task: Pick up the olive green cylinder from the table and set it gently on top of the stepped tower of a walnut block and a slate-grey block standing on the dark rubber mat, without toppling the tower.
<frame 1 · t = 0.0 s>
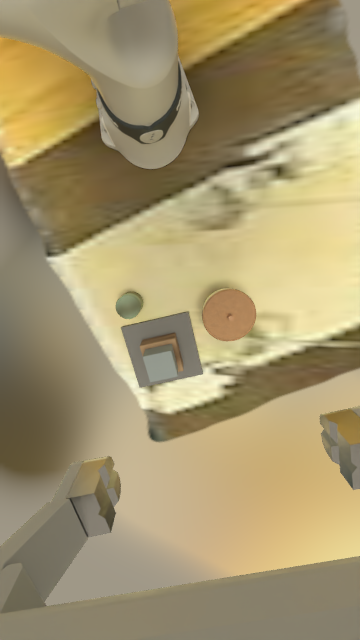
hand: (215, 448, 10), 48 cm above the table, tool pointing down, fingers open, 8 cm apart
lidded jar: (222, 307, 57), on the table
mat: (163, 350, 60), on the table
olive green cylinder: (132, 302, 57), on the table
tower top: (161, 358, 55), point 5 cm above the table, touching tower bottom
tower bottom: (163, 351, 59), point 1 cm above the table, touching mat, tower top
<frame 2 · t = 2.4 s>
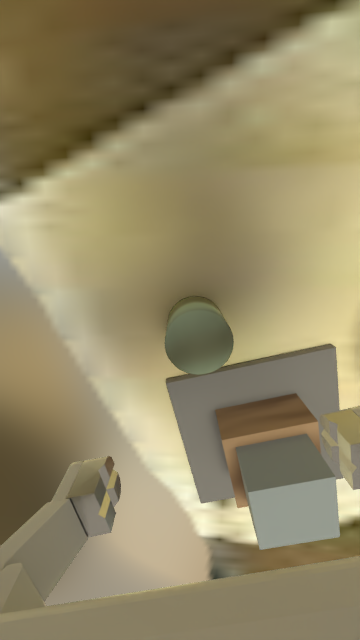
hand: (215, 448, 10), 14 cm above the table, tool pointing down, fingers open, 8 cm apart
mat: (258, 428, 26), on the table
olive green cylinder: (195, 322, 23), on the table
tower top: (275, 467, 22), point 5 cm above the table, touching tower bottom
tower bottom: (260, 434, 26), point 1 cm above the table, touching mat, tower top
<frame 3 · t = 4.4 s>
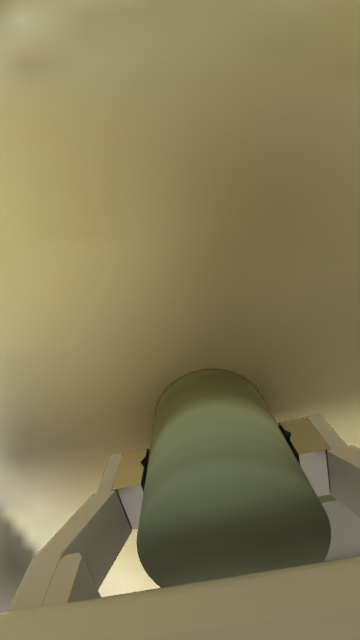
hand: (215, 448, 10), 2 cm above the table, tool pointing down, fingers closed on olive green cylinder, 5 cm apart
mat: (323, 592, 14), on the table
olive green cylinder: (210, 419, 11), on the table, touching gripper
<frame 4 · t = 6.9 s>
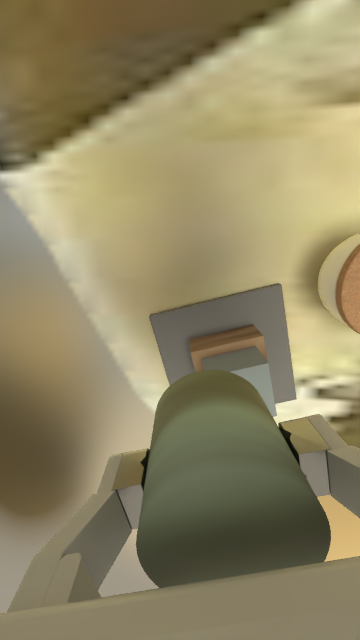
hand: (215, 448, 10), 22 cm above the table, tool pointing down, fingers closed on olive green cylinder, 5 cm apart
lidded jar: (345, 274, 30), on the table
mat: (225, 357, 33), on the table
olive green cylinder: (210, 419, 11), point 20 cm above the table, touching gripper
tower top: (233, 376, 28), point 5 cm above the table, touching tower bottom
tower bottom: (226, 360, 32), point 1 cm above the table, touching mat, tower top
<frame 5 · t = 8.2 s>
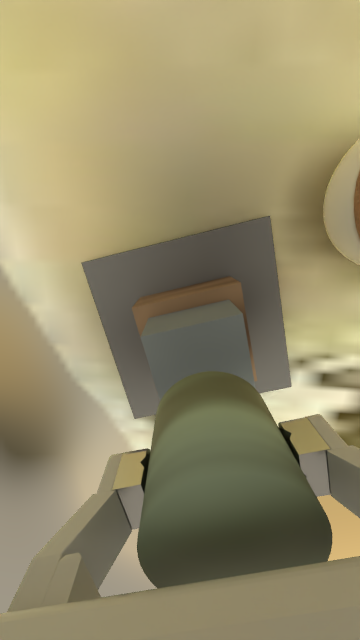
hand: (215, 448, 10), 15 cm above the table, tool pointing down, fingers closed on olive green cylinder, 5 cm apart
mat: (193, 326, 24), on the table
olive green cylinder: (211, 421, 11), point 13 cm above the table, touching gripper
tower top: (197, 346, 19), point 5 cm above the table, touching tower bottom
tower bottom: (194, 329, 23), point 1 cm above the table, touching mat, tower top
when the fingers open (11 cm above the table, at t = 9.2 s): olive green cylinder stays where it is, resting on tower top.
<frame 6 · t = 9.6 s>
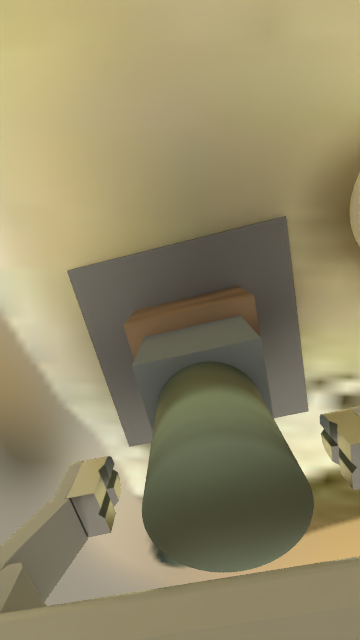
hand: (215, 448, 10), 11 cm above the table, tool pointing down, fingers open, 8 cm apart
mat: (196, 343, 21), on the table
olive green cylinder: (208, 408, 12), point 9 cm above the table, touching tower top
tower top: (201, 369, 16), point 5 cm above the table, touching olive green cylinder, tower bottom
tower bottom: (197, 346, 20), point 1 cm above the table, touching mat, tower top
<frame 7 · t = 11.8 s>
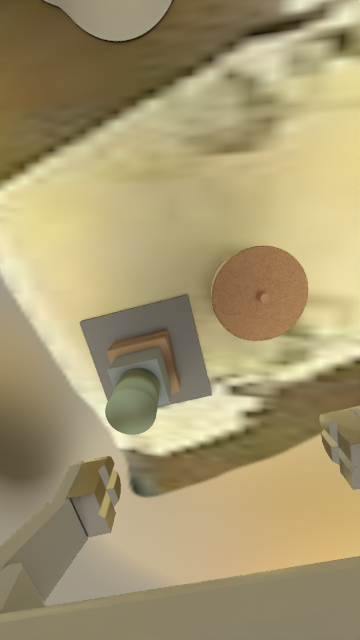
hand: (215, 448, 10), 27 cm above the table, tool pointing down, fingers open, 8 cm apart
lidded jar: (243, 287, 36), on the table
mat: (148, 357, 38), on the table
olive green cylinder: (139, 387, 29), point 9 cm above the table, touching tower top
tower top: (144, 371, 33), point 5 cm above the table, touching olive green cylinder, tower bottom
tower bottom: (148, 360, 37), point 1 cm above the table, touching mat, tower top
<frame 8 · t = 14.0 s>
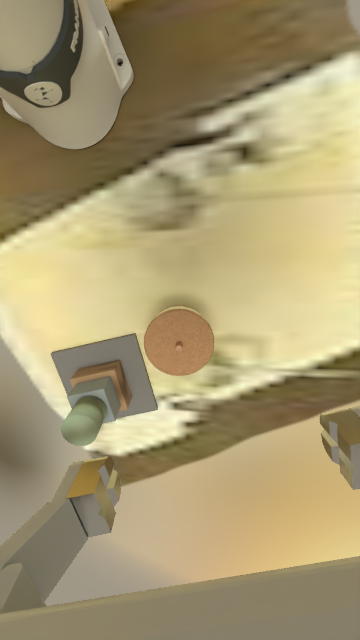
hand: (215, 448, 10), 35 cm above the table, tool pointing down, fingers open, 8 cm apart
lidded jar: (179, 328, 45), on the table
mat: (106, 380, 48), on the table
olive green cylinder: (91, 409, 40), point 9 cm above the table, touching tower top
tower top: (99, 394, 43), point 5 cm above the table, touching olive green cylinder, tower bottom
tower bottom: (105, 382, 47), point 1 cm above the table, touching mat, tower top
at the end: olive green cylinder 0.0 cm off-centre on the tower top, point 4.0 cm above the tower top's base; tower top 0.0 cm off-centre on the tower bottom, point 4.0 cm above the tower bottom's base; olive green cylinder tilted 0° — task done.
